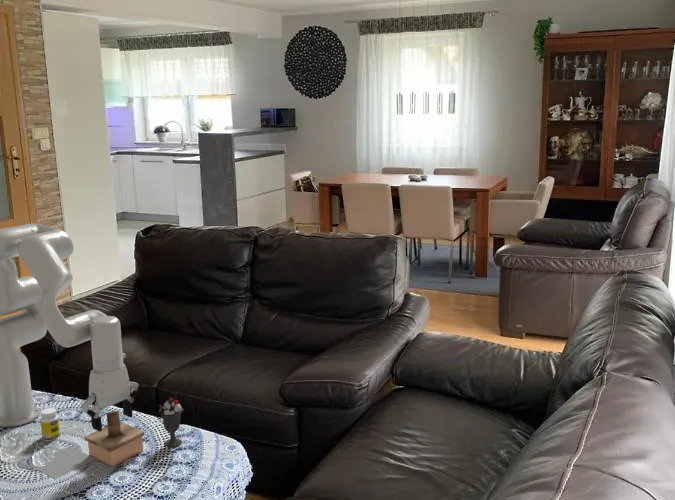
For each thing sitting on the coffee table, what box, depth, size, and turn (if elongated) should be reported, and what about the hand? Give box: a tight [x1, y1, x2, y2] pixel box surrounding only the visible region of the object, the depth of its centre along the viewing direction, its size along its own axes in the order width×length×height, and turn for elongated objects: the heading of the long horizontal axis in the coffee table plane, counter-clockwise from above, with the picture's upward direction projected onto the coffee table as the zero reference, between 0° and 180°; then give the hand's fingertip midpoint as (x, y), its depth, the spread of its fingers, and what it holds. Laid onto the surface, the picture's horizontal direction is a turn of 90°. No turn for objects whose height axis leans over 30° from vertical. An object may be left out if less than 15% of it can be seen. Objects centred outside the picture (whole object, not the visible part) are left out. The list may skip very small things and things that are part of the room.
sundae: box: [157, 391, 184, 449], centre depth 187 cm, size 7×7×15 cm
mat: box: [28, 445, 96, 480], centre depth 179 cm, size 12×12×1 cm
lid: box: [84, 410, 145, 452], centre depth 181 cm, size 11×11×7 cm
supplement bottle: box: [40, 407, 61, 442], centre depth 192 cm, size 5×5×8 cm
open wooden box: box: [87, 436, 144, 468], centre depth 183 cm, size 10×10×5 cm
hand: (113, 422), depth 181 cm, fingers open, 9 cm apart
